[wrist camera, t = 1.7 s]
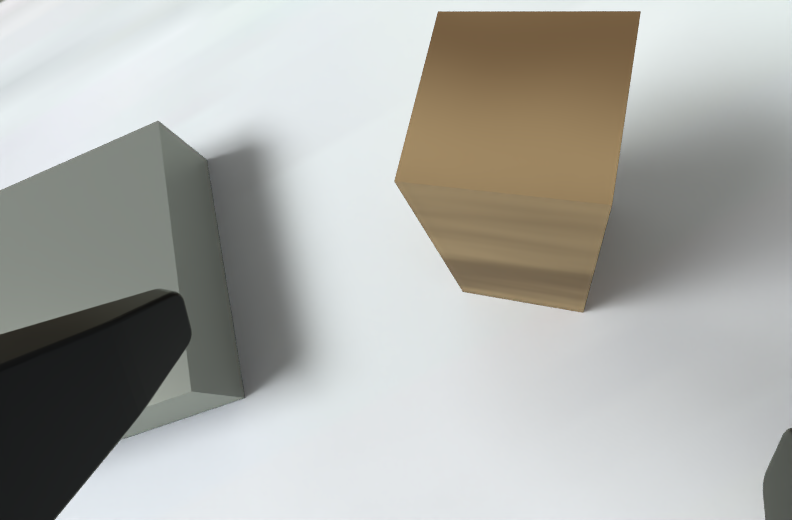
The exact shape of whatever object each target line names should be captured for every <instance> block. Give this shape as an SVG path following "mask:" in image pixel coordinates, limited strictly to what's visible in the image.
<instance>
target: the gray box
mask: <svg viewBox="0 0 792 520" xmlns="http://www.w3.org/2000/svg"><path fill="white" fill-rule="evenodd" d="M158 288H161V289H167V290H171V291H176V292H178V293H180V294H181V295H182V297H183V298H184V301H185V305H186V309H187V313H188V316H189V320H190V324H191V328H192V337H191V341H190V343H189V345H188V347H187V348H186V350H185V351H184V353H183V354H182V355H181V357H180V358H179V360H178V361H177V363H176V364H175V366H174V367H173V369H172V370H171V372H170V373H169V374H168V376H167V377H166V379H165V380H164V382H163V383H162V385H161V386H160V388H159V389H158V391H157V392H156V394H155V395H154V396H153V398H152V399H151V401H150V402H149V404H148V405H147V407H146V408H145V409H144V411H143V412H142V414H141V415H140V416H139V417H138V419H137V420H136V421H135V423H134V424H133V425H132V426H131V428H130V429H129V430H128V431H127V432H126V434H125V435H124V436H123V437H122V439H125V438H128V437H131V436H134V435H137V434H139V433H142V432H145V431H148V430H151V429H154V428H157V427H160V426H163V425H166V424H169V423H172V422H175V421H178V420H181V419H184V418H187V417H190V416H193V415H196V414H199V413H202V412H205V411H208V410H211V409H214V408H217V407H220V406H223V405H226V404H229V403H231V402H234V401H237V400H240V399H243V398H245V395H244V389H243V383H242V377H241V370H240V364H239V358H238V352H237V345H236V339H235V333H234V327H233V320H232V314H231V308H230V302H229V295H228V289H227V283H226V277H225V270H224V264H223V258H222V252H221V245H220V239H219V233H218V227H217V220H216V214H215V208H214V202H213V196H212V189H211V183H210V177H209V171H208V164H207V159H205V158H204V157H203V156H202V155H200V154H199V153H198V152H197V151H195V150H194V149H193V148H192V147H190V146H189V145H188V144H187V143H185V142H184V141H183V140H182V139H180V138H179V137H178V136H177V135H175V134H174V133H173V132H172V131H170V130H169V129H168V128H167V127H165V126H164V125H163V124H162V123H161V122H159V121H156V122H154V123H152V124H150V125H147V126H145V127H143V128H141V129H138V130H136V131H134V132H131V133H129V134H127V135H125V136H122V137H120V138H118V139H116V140H113V141H111V142H109V143H107V144H104V145H102V146H100V147H97V148H95V149H93V150H91V151H88V152H86V153H84V154H82V155H79V156H77V157H75V158H73V159H70V160H68V161H66V162H64V163H61V164H59V165H57V166H54V167H52V168H50V169H48V170H45V171H43V172H41V173H39V174H36V175H34V176H32V177H30V178H27V179H25V180H23V181H20V182H18V183H16V184H14V185H11V186H9V187H7V188H5V189H2V190H0V334H3V333H6V332H9V331H13V330H16V329H20V328H23V327H27V326H30V325H33V324H37V323H40V322H44V321H47V320H50V319H54V318H57V317H61V316H64V315H68V314H71V313H74V312H78V311H81V310H85V309H88V308H91V307H95V306H98V305H102V304H105V303H109V302H112V301H115V300H119V299H122V298H126V297H129V296H132V295H136V294H139V293H143V292H146V291H150V290H153V289H158ZM122 439H121V440H122Z"/></svg>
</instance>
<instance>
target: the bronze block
mask: <svg viewBox="0 0 792 520" xmlns="http://www.w3.org/2000/svg"><path fill="white" fill-rule="evenodd" d="M640 13H641V11H578V12H438V14H437V18H436V22H435V26H434V29H433V33H432V37H431V41H430V45H429V49H428V53H427V57H426V60H425V64H424V68H423V72H422V76H421V80H420V84H419V88H418V92H417V95H416V99H415V103H414V107H413V111H412V115H411V119H410V123H409V126H408V130H407V134H406V138H405V142H404V146H403V150H402V154H401V158H400V161H399V165H398V169H397V173H396V177H395V183H396V185H397V186H398V188H399V190H400V191H401V193H402V194H403V196H404V198H405V199H406V201H407V202H408V204H409V206H410V207H411V209H412V210H413V212H414V214H415V215H416V217H417V218H418V220H419V222H420V223H421V225H422V227H423V228H424V230H425V231H426V233H427V235H428V236H429V238H430V239H431V241H432V243H433V244H434V246H435V247H436V249H437V251H438V252H439V254H440V255H441V257H442V259H443V260H444V262H445V264H446V265H447V267H448V268H449V270H450V272H451V273H452V275H453V276H454V278H455V280H456V281H457V283H458V284H459V286H460V288H461V289H462V291H463V292H467V293H473V294H479V295H485V296H490V297H496V298H502V299H508V300H513V301H519V302H525V303H531V304H537V305H542V306H548V307H554V308H560V309H565V310H571V311H577V312H583V311H584V308H585V304H586V300H587V296H588V293H589V289H590V285H591V282H592V278H593V274H594V270H595V267H596V263H597V259H598V255H599V252H600V248H601V244H602V241H603V237H604V233H605V229H606V226H607V222H608V218H609V214H610V211H611V207H612V202H613V195H614V188H615V182H616V175H617V168H618V161H619V155H620V148H621V141H622V134H623V127H624V121H625V114H626V107H627V100H628V94H629V87H630V80H631V73H632V67H633V60H634V53H635V46H636V40H637V33H638V26H639V19H640Z"/></svg>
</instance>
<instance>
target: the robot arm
mask: <svg viewBox="0 0 792 520" xmlns="http://www.w3.org/2000/svg"><path fill="white" fill-rule="evenodd" d="M191 337H192V328H191V324H190V320H189V316H188V313H187V309H186V305H185V301H184V298H183V297H182V295H181V294H180V293H178V292H176V291H171V290H167V289H161V288H158V289H153V290H150V291H146V292H143V293H139V294H136V295H132V296H129V297H126V298H122V299H119V300H115V301H112V302H109V303H105V304H102V305H98V306H95V307H91V308H88V309H85V310H81V311H78V312H74V313H71V314H68V315H64V316H61V317H57V318H54V319H50V320H47V321H44V322H40V323H37V324H33V325H30V326H27V327H23V328H20V329H16V330H13V331H9V332H6V333H3V334H0V520H55V519H56V518H57V516H58V515H59V514H60V513H61V511H62V510H63V509H64V508H65V507H66V505H67V504H68V503H69V502H70V501H71V499H72V498H73V497H74V496H75V494H76V493H77V492H78V491H79V490H80V488H81V487H82V486H83V485H84V484H85V482H86V481H87V480H88V479H89V477H90V476H91V475H92V474H93V473H94V471H95V470H96V469H97V468H98V467H99V465H100V464H101V463H102V462H103V460H104V459H105V458H106V457H107V456H108V454H109V453H110V452H111V451H112V450H113V448H114V447H115V446H116V445H117V443H118V442H119V441H120V440H121V439H122V437H123V436H124V435H125V434H126V432H127V431H128V430H129V429H130V428H131V426H132V425H133V424H134V423H135V421H136V420H137V419H138V417H139V416H140V415H141V414H142V412H143V411H144V409H145V408H146V407H147V405H148V404H149V402H150V401H151V399H152V398H153V396H154V395H155V394H156V392H157V391H158V389H159V388H160V386H161V385H162V383H163V382H164V380H165V379H166V377H167V376H168V374H169V373H170V372H171V370H172V369H173V367H174V366H175V364H176V363H177V361H178V360H179V358H180V357H181V355H182V354H183V353H184V351H185V350H186V348H187V347H188V345H189V343H190V341H191ZM763 498H764V509H765V520H792V428H790V429H788V430H787V431H786V432H785V433H784V434H783V436H782V438H781V440H780V442H779V444H778V447H777V449H776V451H775V453H774V455H773V457H772V460H771V462H770V464H769V466H768V468H767V470H766V473H765V476H764V482H763Z"/></svg>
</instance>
